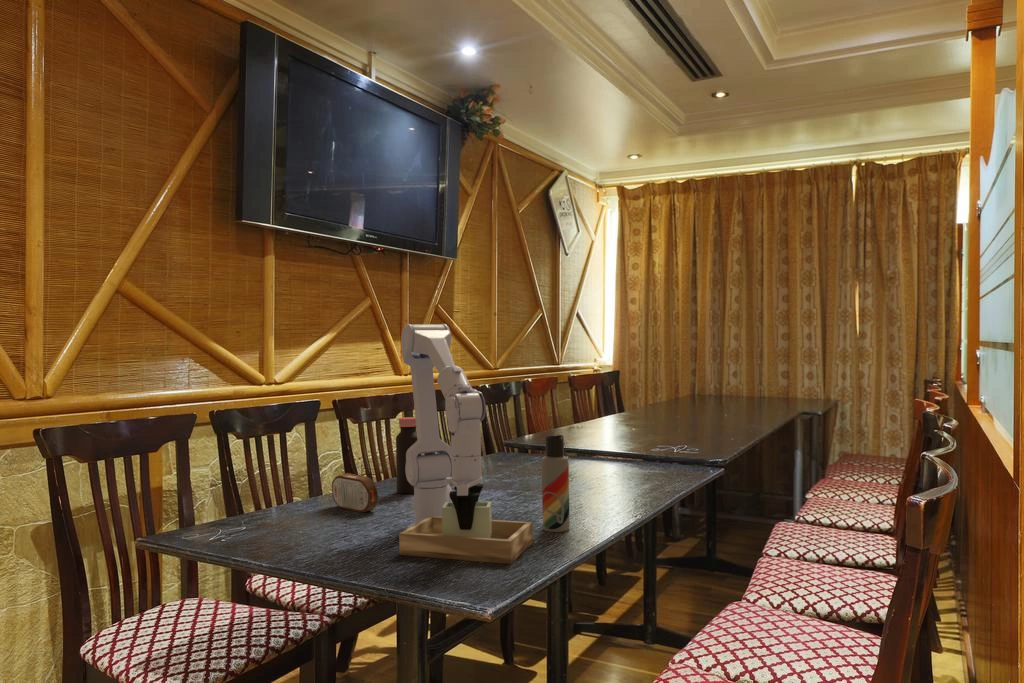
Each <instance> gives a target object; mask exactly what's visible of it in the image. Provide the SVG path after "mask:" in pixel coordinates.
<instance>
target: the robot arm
mask: <svg viewBox="0 0 1024 683" xmlns="http://www.w3.org/2000/svg"><path fill="white" fill-rule="evenodd" d="M451 343H452V333H451V329H450V328H449V326H448V325H447V324H446V323H442V324H410V323H406V324H405V325H404V326H403V328H402V330H401V336H400V344H401V345H400V346H401V354H402V361H403V363H404V364H405V365H406V366H409V368H410V369H409V370H410V375H411V387H412V396H413V397H412V398H413V406H414V417H415V419H416V431H417V441H416V442H415V443H414V444H413V445H412V446H411V447H410V448H409V449H408V450H407V452H406V465H405V472H406V477H407V480H408V482H409V483H410V484H411V485H413V486H414V494H413V500H414V501H413V503H414V504H413V507H414V510H413V511H414V514H413V516H414V522H413V523H411V524H410V525H407V528H406V529H408V528H410V527H412V526H413V525H415V524H417V523H419V522H420V521H422V520H424V519H426V518H428V517H429V516H439V517H442V507H443V505H444V504H445V502H453V504H454V507H455V510H456V513H457V518H458V523H459V527H460V530H471V528H472V524H473V517H474V509H475V505H476V502H479V498H480V494H481V493H482V490H483V487H484V483H482V482H483V476H482V443H481V442H482V441H481V440H482V439H481V438H482V437H481V436H482V435H481V434H482V433H481V430H482V429H481V422H482V421H483V420H484V419H485V416H486V412H487V410H486V408H487V407H486V400H485V397H484V395H483V393H482V392H481V391H479V390H477V389H476V388H473V387H472V385H471V383H470V381H469V379H468V377H467V375H466V373H465V372H464V369H463V368H462V367H460V366H457V365H456V364H455V362H454V358H453V355H452V353H451V350H450V348H451V345H452V344H451ZM434 367H435V369H436V371H437V372H438V374H437V379H436V382H437V385H438V386H439V389H440V391H441V393H442V395H443V398H444V400H445V416H446V420H447V427H448V432H450V445H449V444H448V443H446V442H445V441H444V440H442V439H441V438H440V430H439V419H438V409H437V399H436V390H435V379H434ZM432 453H433V454H432ZM418 454H421V456H417V455H418ZM423 454H424V455H423ZM451 484H452V485H453V486H454V487H453V489H454V491H453V490H452V487H451V486H450V485H451Z"/></svg>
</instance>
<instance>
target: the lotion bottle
mask: <svg viewBox="0 0 1024 683" xmlns="http://www.w3.org/2000/svg"><path fill="white" fill-rule="evenodd" d="M564 440H565V438H564V435H562V434H556V435H555V434H554V435H548V436H545V456H543V457H542V458H541V499H542V500H541V501H542V502H541V503H542V504H541V505H542V506H541V510H542V512H541V513H542V529H543V530H544V531H545V532H549V533H562V532H563V533H564V532H567V531H569V530H570V523H571V521H570V517H571V516H570V479H569V478H570V474H569V472H570V468H569V467H570V466H569V457H567V456H565V441H564Z"/></svg>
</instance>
